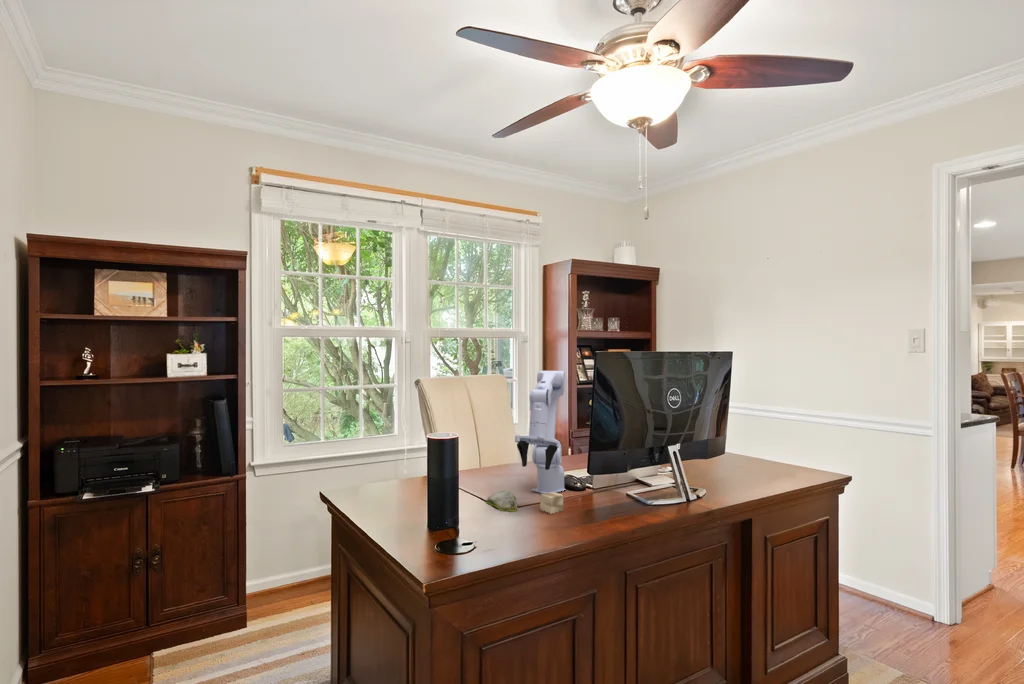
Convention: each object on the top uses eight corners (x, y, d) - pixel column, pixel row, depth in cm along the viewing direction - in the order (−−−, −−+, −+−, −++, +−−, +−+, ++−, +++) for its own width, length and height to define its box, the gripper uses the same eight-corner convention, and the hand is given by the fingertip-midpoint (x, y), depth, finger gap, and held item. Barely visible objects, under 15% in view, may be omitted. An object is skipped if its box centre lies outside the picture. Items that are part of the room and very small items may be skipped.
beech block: (552, 507, 179) (552, 491, 179) (563, 511, 175) (563, 495, 175) (540, 510, 176) (540, 494, 176) (551, 514, 172) (551, 497, 172)
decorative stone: (483, 494, 197) (483, 483, 197) (512, 493, 198) (512, 482, 198) (487, 513, 174) (487, 501, 174) (520, 512, 175) (520, 499, 175)
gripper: (521, 419, 176) (517, 462, 171) (564, 425, 180) (562, 468, 174) (514, 423, 182) (510, 466, 177) (555, 430, 186) (553, 471, 181)
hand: (535, 467), depth 176 cm, fingers open, 7 cm apart
